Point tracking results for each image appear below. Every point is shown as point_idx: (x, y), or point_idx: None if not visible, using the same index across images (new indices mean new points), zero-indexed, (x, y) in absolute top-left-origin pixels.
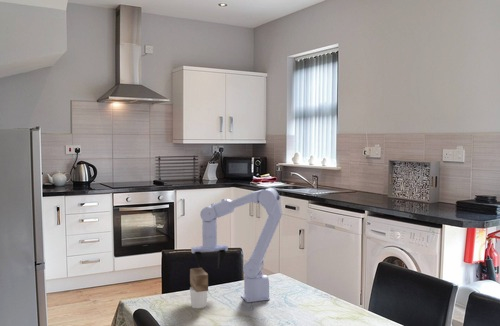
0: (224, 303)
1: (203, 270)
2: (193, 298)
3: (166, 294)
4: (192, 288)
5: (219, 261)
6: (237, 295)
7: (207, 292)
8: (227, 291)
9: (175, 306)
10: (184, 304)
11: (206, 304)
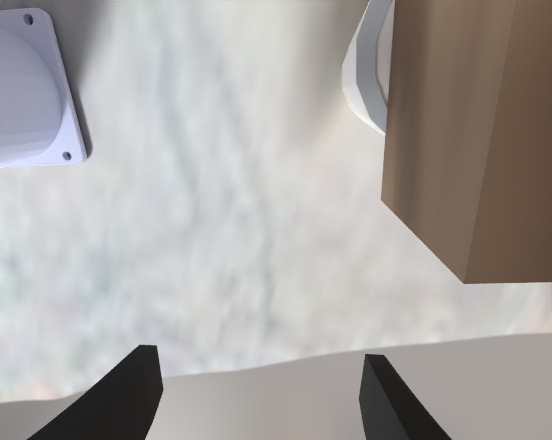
0: (214, 58)
1: (523, 46)
2: None
3: (507, 326)
4: None
5: (89, 435)
6: (110, 186)
7: (352, 45)
8: (162, 269)
9: None
10: None
11: (343, 62)
